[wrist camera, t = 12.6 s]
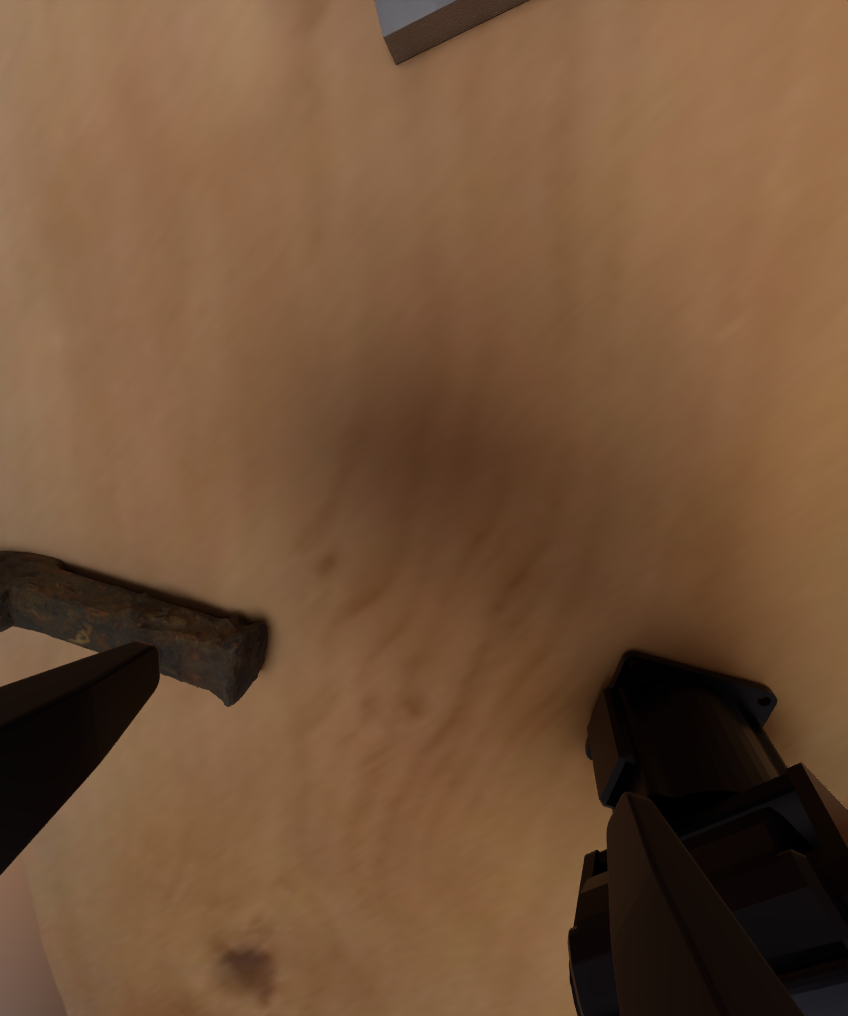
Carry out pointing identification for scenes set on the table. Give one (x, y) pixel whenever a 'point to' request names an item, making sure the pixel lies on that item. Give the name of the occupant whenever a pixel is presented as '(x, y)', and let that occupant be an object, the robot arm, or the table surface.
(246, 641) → the rusty brown bar
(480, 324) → the table surface
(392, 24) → the bolt plate
